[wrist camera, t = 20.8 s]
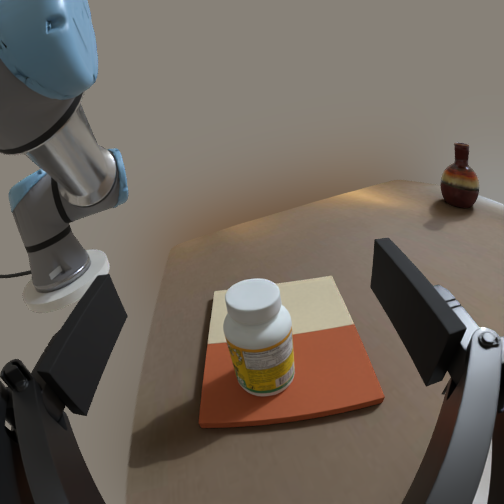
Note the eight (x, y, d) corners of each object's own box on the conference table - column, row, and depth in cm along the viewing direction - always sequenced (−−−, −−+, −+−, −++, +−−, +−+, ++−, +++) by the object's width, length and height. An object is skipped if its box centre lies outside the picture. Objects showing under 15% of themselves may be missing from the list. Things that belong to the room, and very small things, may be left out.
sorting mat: (201, 428, 21) (198, 423, 21) (215, 297, 39) (214, 291, 38) (382, 402, 21) (384, 397, 20) (331, 281, 38) (331, 275, 38)
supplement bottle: (297, 395, 22) (293, 313, 18) (235, 400, 23) (210, 321, 18) (292, 351, 27) (286, 269, 23) (238, 356, 27) (219, 276, 23)
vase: (431, 197, 63) (433, 139, 56) (460, 195, 63) (462, 141, 56) (456, 211, 53) (460, 146, 46) (484, 209, 53) (489, 149, 46)
